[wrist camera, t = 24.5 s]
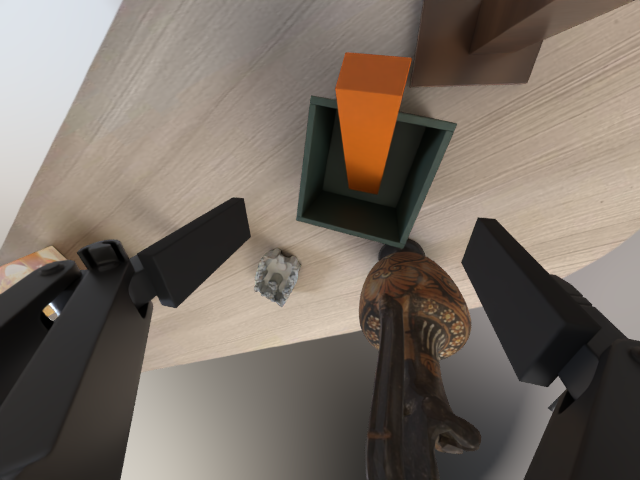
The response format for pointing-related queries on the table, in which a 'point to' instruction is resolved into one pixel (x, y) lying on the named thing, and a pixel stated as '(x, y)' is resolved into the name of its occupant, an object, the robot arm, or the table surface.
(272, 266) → the egg carton
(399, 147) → the trash bin
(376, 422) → the vase
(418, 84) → the stand
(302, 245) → the table surface
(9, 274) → the coffeecake box
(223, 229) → the robot arm
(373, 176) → the block
